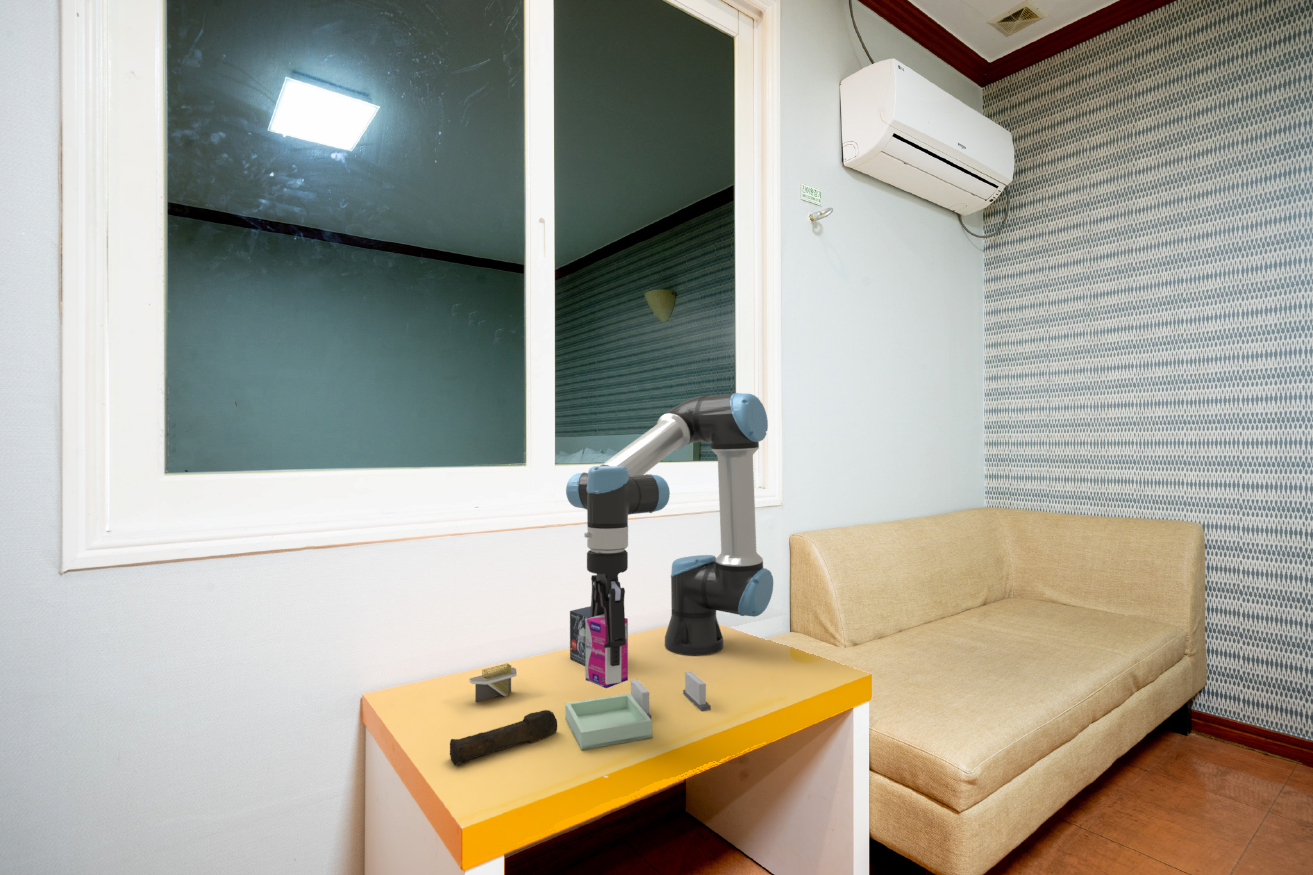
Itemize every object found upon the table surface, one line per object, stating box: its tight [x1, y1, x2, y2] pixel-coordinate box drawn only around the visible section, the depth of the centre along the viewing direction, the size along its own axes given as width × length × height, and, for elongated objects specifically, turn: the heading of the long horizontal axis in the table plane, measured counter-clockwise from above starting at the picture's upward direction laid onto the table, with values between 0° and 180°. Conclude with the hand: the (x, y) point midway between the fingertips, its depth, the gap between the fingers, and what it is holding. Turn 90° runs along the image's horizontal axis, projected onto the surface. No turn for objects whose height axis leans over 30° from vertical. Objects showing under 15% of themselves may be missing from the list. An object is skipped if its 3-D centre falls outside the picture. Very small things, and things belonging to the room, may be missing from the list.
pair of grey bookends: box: [630, 671, 712, 720], centre depth 122 cm, size 14×9×5 cm, turn 111°
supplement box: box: [585, 614, 629, 689], centre depth 112 cm, size 6×6×12 cm
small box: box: [569, 605, 591, 667], centre depth 146 cm, size 13×7×12 cm, turn 42°
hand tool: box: [449, 709, 558, 766], centre depth 105 cm, size 19×4×5 cm, turn 124°
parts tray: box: [564, 693, 653, 751], centre depth 112 cm, size 13×13×3 cm
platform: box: [469, 662, 518, 703], centre depth 126 cm, size 12×18×7 cm, turn 132°
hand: (606, 674), depth 112 cm, fingers closed on supplement box, 7 cm apart
